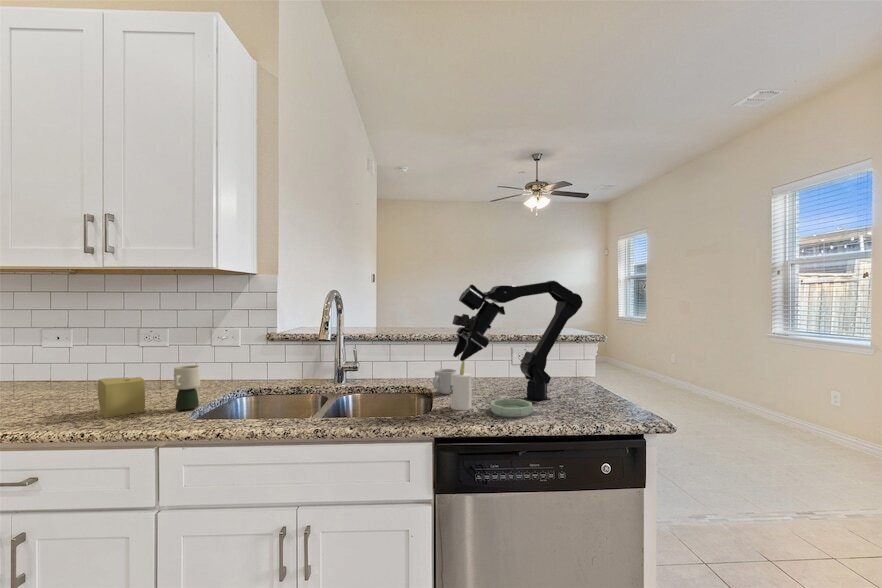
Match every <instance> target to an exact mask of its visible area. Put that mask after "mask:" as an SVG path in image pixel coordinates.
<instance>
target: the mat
mask: <svg viewBox="0 0 882 588" xmlns="http://www.w3.org/2000/svg"><path fill="white" fill-rule="evenodd" d="M480 412H483V413H487V414H489V415H493V416H496V417H498V418H502V419H505V420H508V421H511V422H512V421H516V420H521V419H525V418H529V417H533V416H538V415H542V414H544V413H543V412H542V411H541V412H540V411H537V410H534V409H533V411H532V414H531V415H529V416H526V417H503V416H498V415H495V414H493V413H492V412H491V408H486V409H481V410H480Z"/></svg>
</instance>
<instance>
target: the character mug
mask: <svg viewBox="0 0 882 588" xmlns="http://www.w3.org/2000/svg"><path fill="white" fill-rule="evenodd" d="M173 378H174V379H173V380H174V382H173V387H174V389H176V390H178V391H177V394H176V399H175V407H174V409H175V410H176V411H177V410H183V411H186V410H190V409H197V408H199V406H200V404H199V395H198V391H197V388H199V387H201V366H200V365H194V364H193V365H180V366H179V365H178V366H175V367H174V368H173Z"/></svg>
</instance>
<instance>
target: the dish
mask: <svg viewBox="0 0 882 588" xmlns="http://www.w3.org/2000/svg"><path fill="white" fill-rule="evenodd" d="M532 402H533V401H530V400H526V399H521V398H500V399H498V398H497V399H493V400H491V403H490V409H491V412H492V413H493V414H495V415H498V416H503V417H525V418H527V417H526V416H529V415H531V414H532V411H533V410H534V409H533V403H532ZM495 415H494V416H495ZM498 416H497V417H498Z"/></svg>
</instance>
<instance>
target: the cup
mask: <svg viewBox="0 0 882 588" xmlns="http://www.w3.org/2000/svg"><path fill="white" fill-rule="evenodd" d="M453 373H458V371H457V370H456V369H452V368H439V369H435V370H434V377H433V380H432V385H433V388H434V389H435V390H436V392H437V393H438V394H440V393H442V394H441V395H451V394H450V392H451V389H450V385H451V374H453Z"/></svg>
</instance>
